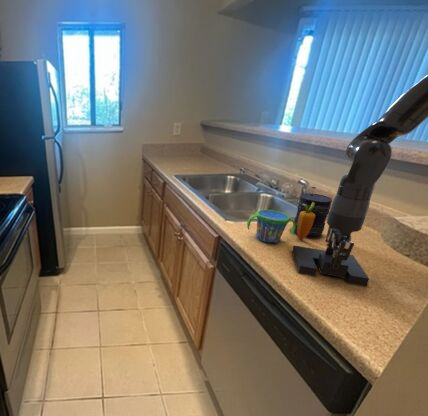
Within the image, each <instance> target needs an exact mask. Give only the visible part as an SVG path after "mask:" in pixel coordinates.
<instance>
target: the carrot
mask: <svg viewBox="0 0 428 416" xmlns="http://www.w3.org/2000/svg"><path fill="white" fill-rule="evenodd" d="M302 205H303V206H304V207H305V210H306V211H302V212H300V214H299V218H298V223H297V234H298V235H297V239H298V240H299V241H303V240H304V239H305V237H306V236H307V235H308V233H309V231H310V230H311V228H312V225H313V222H314V219H315V214H314V213H312V212H311V210H312V209H313V207H314V205H315V203H314V202H312V204H311V207H310V208H309V209H308V207H307V205H306V204H302Z"/></svg>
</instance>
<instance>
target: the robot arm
mask: <svg viewBox="0 0 428 416" xmlns="http://www.w3.org/2000/svg"><path fill="white" fill-rule="evenodd" d="M427 119H428V74H427V75H426V76H424V77H423V78H421V79H420V80H419V81H417V82H416V83H415V84H414V85H412V86H411V87H410V88H409V89H408V90H406V91H405V92H404V93H403V94H402V95H400V97H399V98H398V99H397V100H396V101H395V102H394V103H393V104H392V105H391V106H390V107H389V108H388V109H386V111H385V112H384V113H383V114H382V115H381V117H379V118H378V119H377V120H375V121H374V122H373V123H371V125H368V126H367V127H366V128H365V129H363V130H362V131H361V132H360V133H359V134H357V135H356V136H355V137H354V138H353V139H352V140H351V141H350V142H349V143H348V144H347V147H346V149H345V156H346V158H347V159H348V160H349V161H350V162H352V163H351V166H350V168H349V171H348V172H347V173H346V174H344V175H342V177H341V179H340V181H339V185H338V188H337V191H336V194H335V196H334V198H333V199H332V202H331V207H330V210H329V213H328V215H327V219H326V224H327V225H328V227H327V228H328V229H327V233H326V236H325V239H324V240H325V243H326V249H325V251H326V252H325V254H327V255H332V259H331V262H330V265H329V267H330V269H334V270H339V268H340V266H341V263H342V260H346V261H347V259H348V257H349V255H351V253H352V251H353V248H354V246H355V242H352V233H356V232H359V231H362V228H363V225H364V223H365V220H366V216H367V214H368V211H369V208H370V203H371V199H372V196H373V194H374V193H373V192H374V190H375V187H376V184H377V182H378V181H379V179H380V178H381V177H382V175H383V174H384V172H385V171H386V169H387V167H388V166H389V164H390V163H391V159H392V157H393V149H392V145H391V143H392V142H394V141H395V140H396V139H398V138H399V137H402V136H403V137H404V136H407V135H410V134H411V133H412V132H413V131H414V130H416V129H417V128H418V127H419V126H420V125H422V124H423V123H424V122H425V121H426V120H427ZM340 253H342V254H341V255H340Z"/></svg>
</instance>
